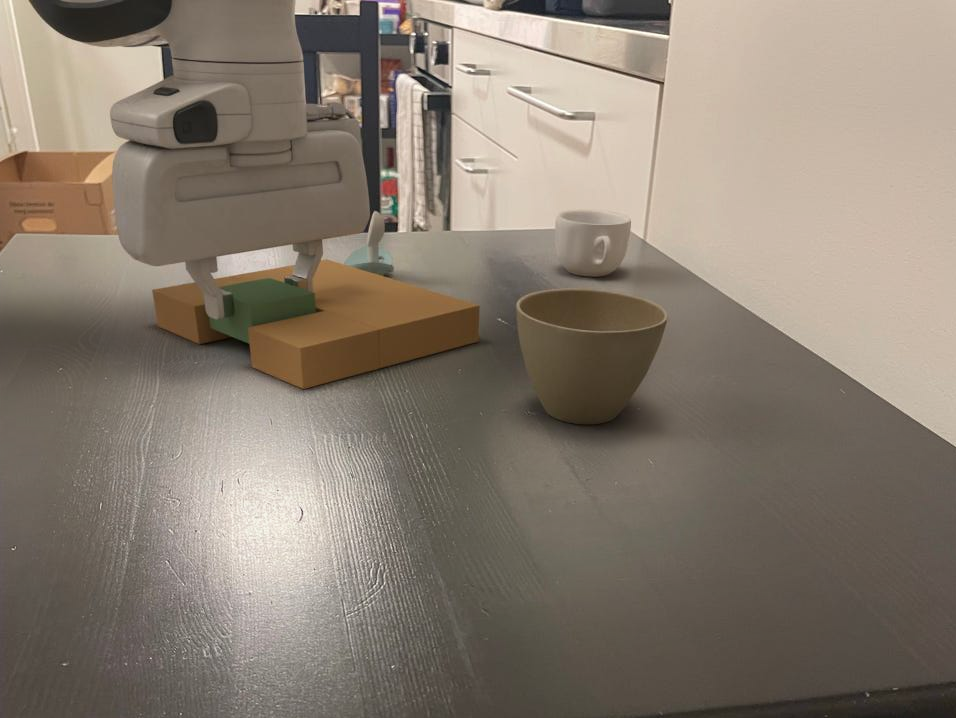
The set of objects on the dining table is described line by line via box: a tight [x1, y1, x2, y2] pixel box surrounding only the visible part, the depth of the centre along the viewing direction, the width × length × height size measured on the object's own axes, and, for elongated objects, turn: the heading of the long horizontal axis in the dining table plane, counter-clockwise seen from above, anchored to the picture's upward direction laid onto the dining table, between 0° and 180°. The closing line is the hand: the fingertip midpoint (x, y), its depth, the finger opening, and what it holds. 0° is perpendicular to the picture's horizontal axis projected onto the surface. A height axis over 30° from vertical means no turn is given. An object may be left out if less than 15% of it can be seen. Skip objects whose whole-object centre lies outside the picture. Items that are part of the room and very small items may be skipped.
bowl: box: [515, 287, 669, 425], centre depth 65 cm, size 10×10×7 cm
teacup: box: [554, 209, 632, 277], centre depth 100 cm, size 10×8×5 cm
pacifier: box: [344, 210, 395, 276], centre depth 95 cm, size 7×6×6 cm
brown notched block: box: [152, 259, 481, 390], centre depth 80 cm, size 20×18×3 cm
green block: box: [209, 278, 316, 345], centre depth 76 cm, size 6×6×3 cm
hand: (261, 308), depth 76 cm, fingers closed on green block, 6 cm apart
